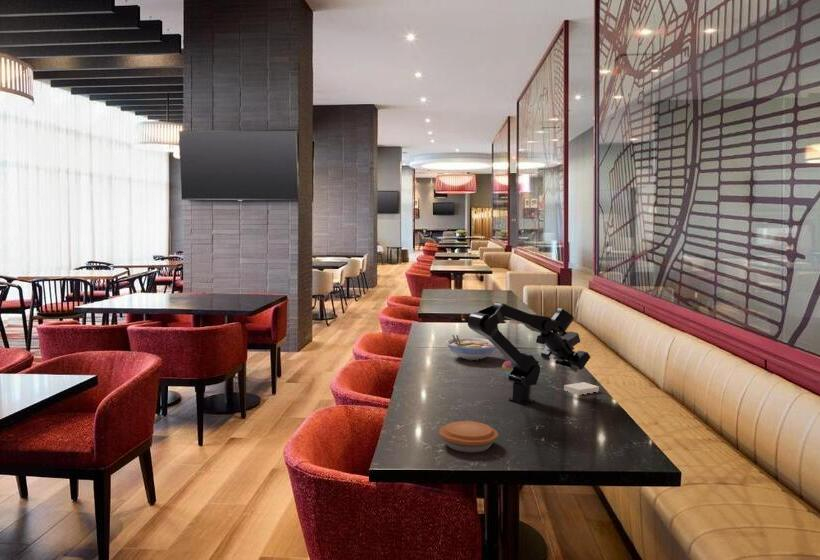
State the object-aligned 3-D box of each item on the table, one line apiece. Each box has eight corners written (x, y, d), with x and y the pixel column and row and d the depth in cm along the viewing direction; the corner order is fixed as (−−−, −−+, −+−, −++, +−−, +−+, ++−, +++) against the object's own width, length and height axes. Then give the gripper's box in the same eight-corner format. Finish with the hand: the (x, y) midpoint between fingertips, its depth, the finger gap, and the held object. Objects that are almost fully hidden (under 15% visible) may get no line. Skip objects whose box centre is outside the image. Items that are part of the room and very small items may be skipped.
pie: (492, 435, 170) (493, 418, 169) (502, 456, 154) (503, 437, 154) (436, 434, 169) (437, 417, 169) (441, 455, 154) (441, 436, 153)
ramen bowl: (501, 366, 256) (502, 346, 255) (446, 364, 256) (447, 345, 255) (494, 353, 280) (495, 336, 280) (444, 352, 281) (445, 334, 280)
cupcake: (525, 376, 238) (526, 346, 237) (523, 381, 230) (524, 350, 229) (503, 374, 241) (504, 344, 240) (500, 379, 232) (501, 348, 231)
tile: (578, 389, 213) (598, 386, 218) (564, 385, 219) (584, 382, 224) (578, 396, 213) (598, 393, 218) (563, 391, 219) (583, 388, 224)
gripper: (587, 329, 204) (609, 358, 211) (548, 321, 220) (569, 348, 227) (569, 354, 201) (591, 383, 207) (530, 344, 217) (552, 371, 223)
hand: (576, 370), depth 216 cm, fingers closed
